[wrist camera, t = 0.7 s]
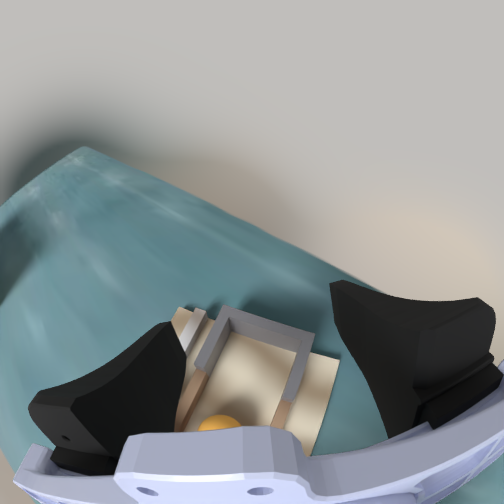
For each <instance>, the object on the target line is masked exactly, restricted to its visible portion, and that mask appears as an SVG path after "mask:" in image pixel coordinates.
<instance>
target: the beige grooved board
mask: <svg viewBox="0 0 504 504" xmlns="http://www.w3.org/2000/svg"><path fill="white" fill-rule="evenodd" d="M171 322H172V325H173V327H174V329H175V332H176V334H177V336H178V338H179V341H180V343H181V345H182V347H183V349H184V351H185V353H186V356H187V360H186V373H185V378H184V382H183V387H182V391H181V395H180V399H179V403H178V408H177V412H176V418H175V428H174V432H192V431H197V430H198V427H199V426H200V424H201V423H202V422H203V421H204V420H205V419H206V418H208V417H210V416H214V415H226V416H230V417H232V418H234V419H235V420H237V421H238V422H239V423H240V424H241V426H266V425H268V426H271V427H275V428H279V429H283V430H286V431H290V432H292V433H293V434H294V435H295V437H296V438H297V439H298V440H299V441H300V442H301V444H302V448H303V452H304V454H305V456H306V457H308V456H310V455H311V452H312V449H313V447H314V444H315V441H316V438H317V435H318V432H319V430H320V427H321V424H322V420H323V417H324V414H325V411H326V408H327V405H328V401H329V398H330V394H331V391H332V387H333V384H334V380H335V376H336V373H337V369H338V365H339V361H340V360H337V359H333V358H329V357H326V356H322V355H318V354H315V353H311V352H310V354H309V357H308V360H307V363H306V366H305V370H304V373H303V376H302V379H301V382H300V385H299V388H298V391H297V394H296V396H295V399H294V401H293V402H292V403H291V402H287V401H284V400H280V399H281V396H282V393H283V390H284V388H285V385H286V382H287V379H288V376H289V374H290V371H291V368H292V365H293V362H294V359H295V356H296V353H295V352H292V351H289V350H285V349H282V348H279V347H276V346H273V345H270V344H267V343H264V342H261V341H258V340H255V339H252V338H249V337H246V336H243V335H240V334H237V333H235V332H232V331H231V333H230V335H229V337H228V340H227V342H226V344H225V346H224V348H223V350H222V352H221V355H220V357H219V359H218V361H217V363H216V365H215V367H214V369H213V371H212V374H211V376H210V378H209V376H208V375H207V373H206V372H204V371H201V370H199V369H197V368H196V367H195V365H194V362H195V360H196V358H197V356H198V354H199V352H200V350H201V348H202V346H203V344H204V342H205V340H206V338H207V336H208V334H209V332H210V330H211V328H212V326H213V324H214V322H215V320H212V319H209V318H208V316H207V313H206V311H204V310H201V309H198V308H195V310H194V312H191V311H189V310H186V309H184V308H181V307H179V308H178V310H177V311H176V313H175V315H174V317H173V318H172V320H171ZM279 401H280V402H279Z"/></svg>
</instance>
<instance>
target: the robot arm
mask: <svg viewBox="0 0 504 504" xmlns="http://www.w3.org/2000/svg"><path fill="white" fill-rule="evenodd" d="M329 285H330V291H331V298H332V306H333V313H334V321H335V324H336V327H337V329H338V332H339V334H340V336H341V338H342V340H343V342H344V344H345V345H346V347H347V348H348V350H349V352H350V353H351V355H352V357H353V358H354V360H355V361H356V363H357V365H358V366H359V368H360V370H361V371H362V373H363V375H364V377H365V379H366V381H367V383H368V385H369V387H370V390H371V392H372V394H373V397H374V399H375V402H376V404H377V407H378V409H379V412H380V415H381V418H382V420H383V423H384V426H385V429H386V432H387V435H388V438H389V439H388V440H385V441H383V442H380V443H378V444H375V445H372V446H370V447H367V448H364V449H360V450H355V451H349V452H342V453H335V454H327V455H319V456H308V457H306V456H305V454H304V452H303V448H302V444H301V442H300V441H299V440H298V439H297V438H296V437H295V435H294V434H293V433H292V432H290V431H286V430H283V429H279V428H275V427H271V426H268V425H266V426H240V427H233V428H225V429H216V430H205V431H192V432H174V428H175V418H176V412H177V408H178V403H179V399H180V395H181V391H182V387H183V382H184V378H185V373H186V360H187V356H186V353H185V351H184V349H183V347H182V345H181V343H180V341H179V338H178V336H177V334H176V332H175V329H174V327H173V325H172V322H171V321H169V322H164V323H159V324H157V325H156V326H154V327H153V328H152V329H150V330H149V331H148V332H146V333H145V334H144V335H143V336H142V337H140V338H139V339H138V340H137V341H136V342H134V343H133V344H132V345H131V346H130V347H128V348H127V349H126V350H124V351H123V352H122V353H121V354H119V355H118V356H117V357H115V358H114V359H112V360H111V361H109V362H108V363H106V364H105V365H103V366H101V367H100V368H98V369H96V370H94V371H92V372H90V373H89V374H87V375H85V376H83V377H80V378H78V379H76V380H73V381H71V382H68V383H65V384H62V385H59V386H56V387H52V388H48V389H45V390H41V391H39V392H38V393H37V394H36V396H35V397H34V398H33V400H32V401H31V403H30V404H29V406H28V410H29V413H30V416H31V418H32V420H33V421H34V423H35V424H36V425H37V426H38V427H39V429H40V430H41V431H42V432H43V433H44V434H45V435H46V436H47V437H48V438H49V439H50V441H51V442H52V443H53V444H54V445H55V446H56V448H55V449H54V451H52V450H51V449H49V448H47V447H44V446H41V445H38V444H35V443H32V445H31V447H30V448H29V450H28V452H27V454H26V456H25V457H24V459H23V461H22V463H21V465H20V467H19V469H18V471H17V473H16V474H15V476H14V478H13V482H14V483H15V484H17V485H18V486H19V487H20V488H22V489H23V490H24V491H25V492H26V493H28V494H29V495H30V496H32V497H33V498H34V499H36V500H37V501H39V502H40V503H41V504H435V503H436V502H438V501H440V500H441V499H443V498H445V497H446V496H448V495H449V494H451V493H452V492H454V491H455V490H457V489H458V488H460V487H461V486H463V485H464V484H465V483H467V482H468V481H470V480H471V479H472V478H474V477H475V476H476V475H478V474H479V473H480V472H481V471H483V470H484V469H485V468H486V467H488V466H489V465H490V464H491V463H492V462H494V461H495V460H496V459H497V458H498V457H499V456H501V455H502V454H503V453H504V360H503V361H502V362H501V363H500V364H499V366H498V367H496V366H495V365H494V364H493V363H492V362H493V361H494V356H493V355H492V354H491V353H489V349H490V345H491V342H492V338H493V334H494V330H495V324H496V318H495V312H494V310H493V308H492V307H490V306H489V305H488V304H486V303H485V302H484V301H482V300H481V299H479V298H477V297H476V298H470V299H463V300H455V301H420V300H410V299H404V298H399V297H394V296H390V295H386V294H383V293H379V292H376V291H373V290H370V289H367V288H365V287H362V286H359V285H357V284H354V283H351V282H348V281H345V280H340V281H336V282H333V283H329Z"/></svg>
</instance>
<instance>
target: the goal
mask: <svg viewBox="0 0 504 504" xmlns="http://www.w3.org/2000/svg"><path fill="white" fill-rule="evenodd" d="M231 331H232V332H235V333H237V334H240V335H243V336H246V337H249V338H252V339H255V340H258V341H261V342H264V343H267V344H270V345H273V346H276V347H279V348H282V349H285V350H289V351H292V352H295V353H296V356H295V359H294V362H293V365H292V368H291V371H290V374H289V376H288V379H287V382H286V385H285V388H284V390H283V393H282V396H281V399H280V400H284V401H287V402H291V403H292V402H293V401H294V399H295V396H296V394H297V391H298V388H299V385H300V382H301V379H302V376H303V373H304V370H305V366H306V363H307V360H308V357H309V354H310V350H311V347H312V344H313V340H314V337H315V333H311V332H308V331H304V330H301V329H298V328H294V327H291V326H288V325H285V324H281V323H278V322H275V321H272V320H269V319H266V318H263V317H259V316H256V315H253V314H250V313H247V312H244V311H241V310H238V309H236V308H233V307H230V306H227V305H224V304H223V306H222V308H221V310H220V312H219V314H218V316H217V318H216V320H215V322H214V324H213V326H212V328H211V330H210V332H209V334H208V336H207V338H206V340H205V342H204V344H203V346H202V348H201V350H200V352H199V354H198V356H197V358H196V360H195V362H194V365H195V367H196V368H197V369H199V370H201V371H204V372H206V373H207V375H208V376H209V378H210V376H211V374H212V371H213V369H214V367H215V365H216V363H217V361H218V359H219V357H220V355H221V352H222V350H223V348H224V346H225V344H226V342H227V340H228V337H229V335H230V333H231ZM279 402H280V401H279Z"/></svg>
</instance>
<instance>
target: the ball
mask: <svg viewBox="0 0 504 504" xmlns="http://www.w3.org/2000/svg"><path fill="white" fill-rule="evenodd" d="M240 426H241V424H240V423H239V422H238V421H237V420H235V419H234V418H232V417H230V416H226V415H214V416H210V417H208V418H206V419H205V420H204V421H203V422H202V423H201V424H200V426H199V427H198V430H197V431H205V430H216V429H225V428H233V427H240Z"/></svg>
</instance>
